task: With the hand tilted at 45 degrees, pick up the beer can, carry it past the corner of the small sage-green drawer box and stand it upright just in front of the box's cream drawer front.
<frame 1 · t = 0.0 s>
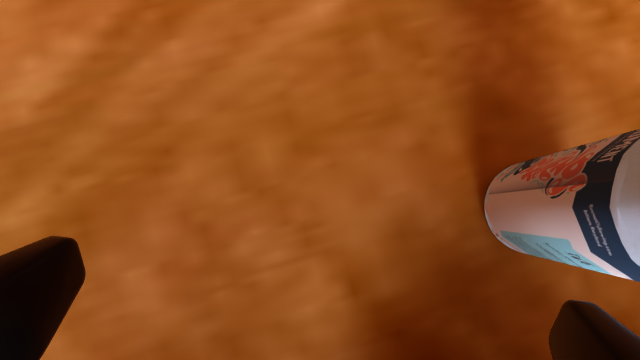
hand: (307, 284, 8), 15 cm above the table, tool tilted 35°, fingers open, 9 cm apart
beer can: (525, 207, 22), on the table
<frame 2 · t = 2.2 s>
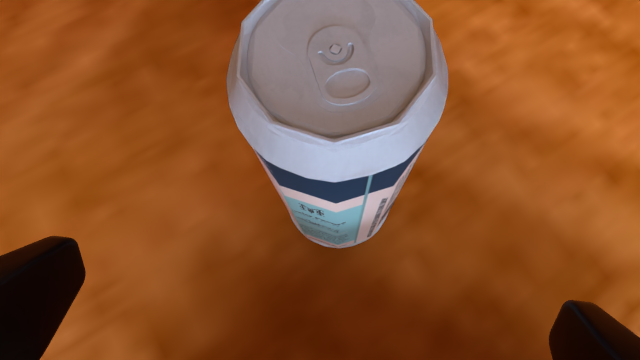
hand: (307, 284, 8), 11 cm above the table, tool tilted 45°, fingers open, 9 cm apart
beer can: (338, 199, 20), on the table
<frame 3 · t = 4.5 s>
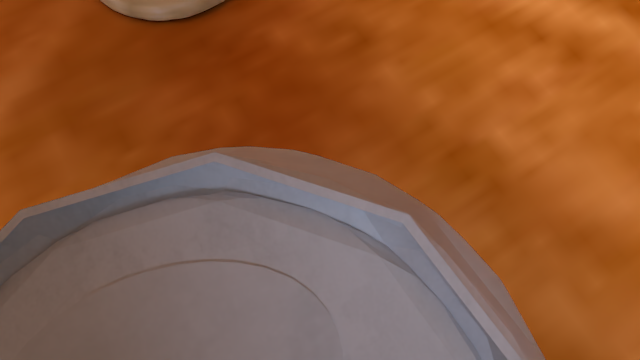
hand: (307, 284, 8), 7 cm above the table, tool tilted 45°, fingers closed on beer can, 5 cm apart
beer can: (317, 334, 14), on the table, touching gripper
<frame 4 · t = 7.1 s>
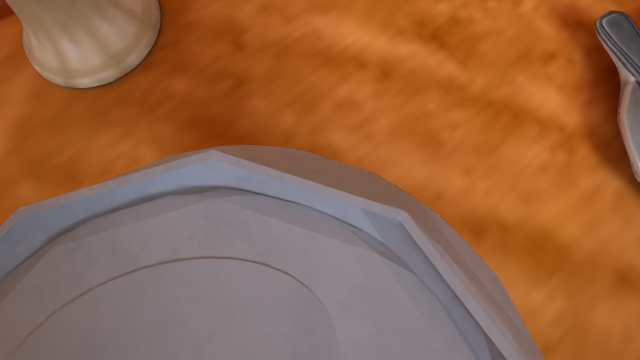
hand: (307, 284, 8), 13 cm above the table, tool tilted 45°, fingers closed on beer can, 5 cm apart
beer can: (316, 334, 14), point 6 cm above the table, touching gripper
hand bell: (95, 29, 25), on the table
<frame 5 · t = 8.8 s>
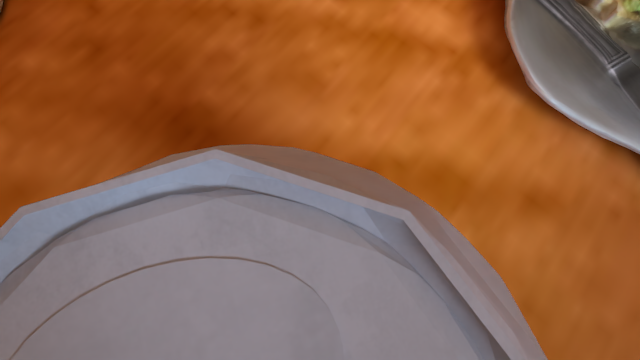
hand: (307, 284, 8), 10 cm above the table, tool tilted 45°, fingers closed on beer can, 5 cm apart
beer can: (317, 334, 14), point 3 cm above the table, touching gripper
when the fingers open (7 cm above the table, at t = 10.1 s): beer can stays where it is, on the table.
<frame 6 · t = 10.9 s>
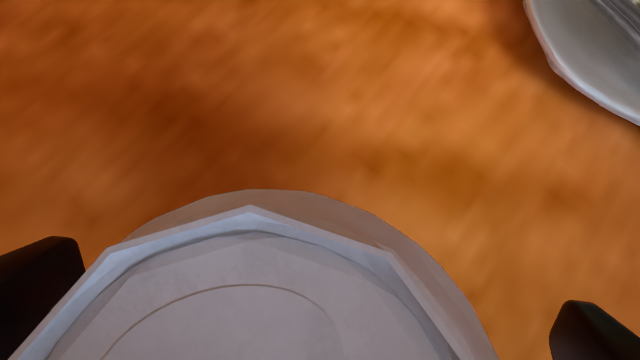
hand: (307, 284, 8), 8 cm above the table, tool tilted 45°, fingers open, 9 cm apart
beer can: (318, 336, 15), on the table
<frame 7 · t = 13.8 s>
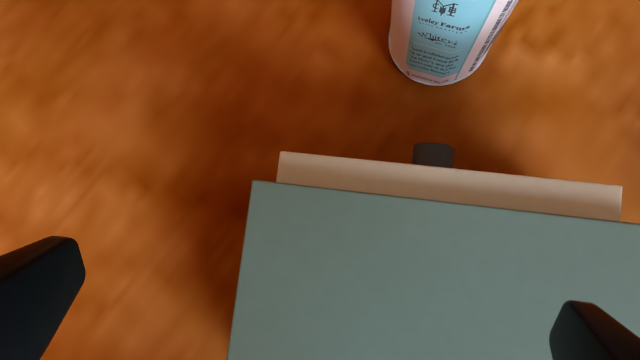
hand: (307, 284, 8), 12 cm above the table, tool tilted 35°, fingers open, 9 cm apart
drawer: (421, 273, 16), point 3 cm above the table, slide at 0.0 cm
drawer box: (409, 314, 19), on the table
beer can: (436, 44, 21), on the table
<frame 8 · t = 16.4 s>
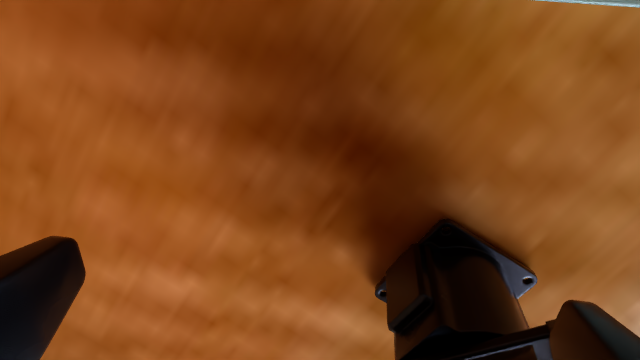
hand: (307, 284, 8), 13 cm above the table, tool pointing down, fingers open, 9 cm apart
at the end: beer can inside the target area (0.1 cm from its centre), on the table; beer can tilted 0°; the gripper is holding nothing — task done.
